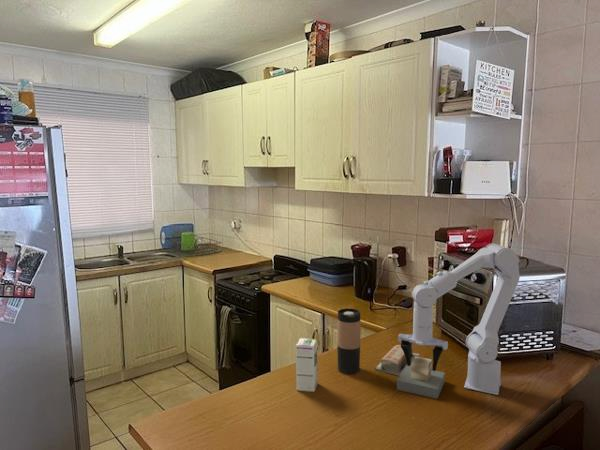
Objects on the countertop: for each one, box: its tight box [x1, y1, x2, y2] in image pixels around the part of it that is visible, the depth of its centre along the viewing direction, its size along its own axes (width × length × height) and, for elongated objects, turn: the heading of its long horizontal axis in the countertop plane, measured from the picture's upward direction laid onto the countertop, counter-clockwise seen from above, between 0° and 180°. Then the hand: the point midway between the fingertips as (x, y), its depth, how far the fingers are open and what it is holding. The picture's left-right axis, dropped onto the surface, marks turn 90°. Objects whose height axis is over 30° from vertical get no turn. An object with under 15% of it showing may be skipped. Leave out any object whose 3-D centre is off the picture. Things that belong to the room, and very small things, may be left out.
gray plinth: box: [396, 365, 446, 400], centre depth 133 cm, size 12×12×3 cm
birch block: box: [411, 356, 433, 382], centre depth 133 cm, size 5×5×5 cm
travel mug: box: [336, 308, 361, 375], centre depth 143 cm, size 8×8×20 cm
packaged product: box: [374, 344, 420, 377], centre depth 149 cm, size 18×5×10 cm
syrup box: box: [295, 337, 319, 393], centre depth 132 cm, size 6×6×14 cm
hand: (421, 367), depth 133 cm, fingers open, 7 cm apart
